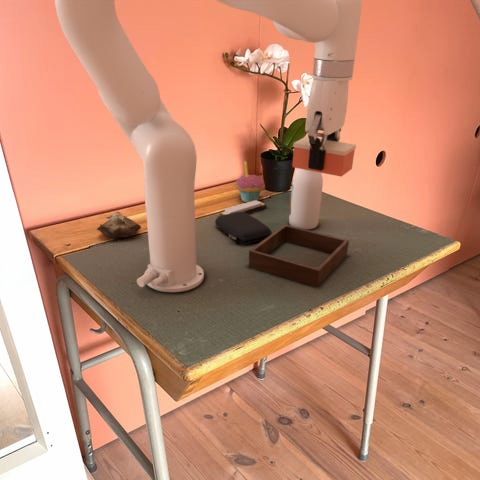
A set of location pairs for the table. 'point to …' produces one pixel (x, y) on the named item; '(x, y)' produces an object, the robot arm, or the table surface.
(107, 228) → the fossilized seashell
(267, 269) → the wooden box
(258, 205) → the harmonica
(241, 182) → the cupcake
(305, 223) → the milk bottle
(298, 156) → the lunchbox
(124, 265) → the table surface
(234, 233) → the carrying case
